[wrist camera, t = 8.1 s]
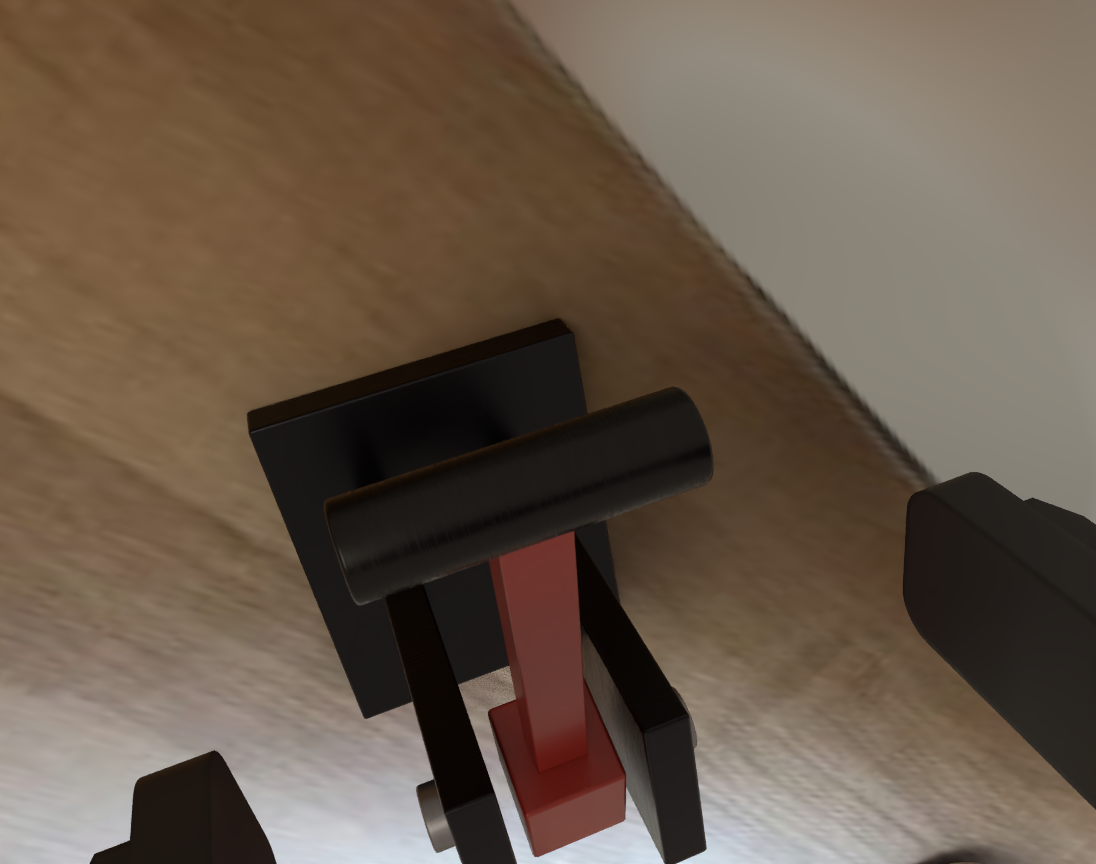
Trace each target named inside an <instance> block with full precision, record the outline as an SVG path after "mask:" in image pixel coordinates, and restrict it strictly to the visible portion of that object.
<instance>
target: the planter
mask: <svg viewBox="0 0 1096 864" xmlns="http://www.w3.org/2000/svg"><path fill="white" fill-rule="evenodd" d="M951 864H983V863H974V862H959V863H951Z"/></svg>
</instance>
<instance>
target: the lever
mask: <svg viewBox="0 0 1096 864" xmlns="http://www.w3.org/2000/svg"><path fill="white" fill-rule="evenodd" d="M712 475H713V454H712V448H711V443H710V439H709V436H708V433H707V430H706V427H705V424H704V422H703V419H702V417H701V415H700V413H699V411H698V409H697V407H696V406H695V404H694V402H693V401H692V400H691V398H690V397H689V396H688V394H687V393H686V392H685V391H684V390H682V389H681V388H678V387H669V388H666V389H663V390H660V391H657V392H654V393H651V394H647V395H644V396H641V397H638V398H635V399H632V400H629V401H626V402H623V403H620V404H617V405H614V406H611V407H608V408H604V409H601V410H598V411H595V412H592V413H589V414H586V415H583V416H580V417H577V418H574V419H571V420H568V421H565V422H561V423H558V424H555V425H552V426H549V427H546V428H543V429H540V430H537V431H534V432H531V433H528V434H525V435H522V436H518V437H515V438H512V439H509V440H506V441H503V442H500V443H497V444H494V445H491V446H488V447H485V448H482V449H478V450H475V451H472V452H469V453H466V454H463V455H460V456H457V457H454V458H451V459H448V460H445V461H442V462H439V463H435V464H432V465H429V466H426V467H423V468H420V469H417V470H414V471H411V472H408V473H405V474H402V475H399V476H396V477H392V478H389V479H386V480H383V481H380V482H377V483H374V484H371V485H368V486H365V487H362V488H359V489H356V490H353V491H349V492H346V493H343V494H340V495H337V496H334V497H331V498H328V499H326V500H325V501H324V513H325V517H326V521H327V525H328V528H329V532H330V535H331V539H332V542H333V545H334V549H335V552H336V555H337V558H338V561H339V564H340V567H341V570H342V573H343V576H344V578H345V581H346V584H347V586H348V589H349V591H350V594H351V596H352V598H353V600H354V602H355V603H356V604H357V605H364V604H367V603H370V602H373V601H375V600H378V599H381V598H384V597H387V596H390V595H393V594H395V593H398V592H401V591H404V590H407V589H410V588H413V587H415V586H418V585H421V584H424V583H427V582H430V581H433V580H435V579H438V578H441V577H444V576H447V575H450V574H453V573H455V572H458V571H461V570H464V569H467V568H470V567H473V566H475V565H478V564H481V563H484V562H487V561H489V564H490V570H491V575H492V580H493V585H494V590H495V595H496V600H497V605H498V610H499V615H500V620H501V625H502V630H503V635H504V640H505V645H506V650H507V655H508V660H509V666H510V671H511V676H512V681H513V686H514V691H515V696H516V700H513V701H511V702H508V703H505V704H503V705H500V706H498V707H495V708H492V709H490V710H489V711H488V717H489V721H490V724H491V728H492V732H493V736H494V740H495V744H496V747H497V751H498V755H499V759H500V762H501V765H502V768H503V771H504V774H505V777H506V779H507V782H508V785H509V788H510V791H511V794H512V797H513V800H514V802H515V805H516V808H517V811H518V814H519V817H520V820H521V823H522V825H523V828H524V831H525V834H526V837H527V840H528V843H529V846H530V848H531V851H532V854H533V855H534V856H535V857H539V856H542V855H544V854H546V853H549V852H551V851H554V850H556V849H558V848H561V847H563V846H566V845H568V844H570V843H573V842H575V841H578V840H580V839H582V838H585V837H587V836H589V835H592V834H594V833H597V832H599V831H601V830H604V829H606V828H609V827H611V826H613V825H616V824H618V823H621V822H623V821H624V820H625V812H626V772H625V769H624V767H623V765H622V762H621V760H620V758H619V756H618V753H617V751H616V749H615V746H614V744H613V742H612V740H611V737H610V735H609V733H608V730H607V728H606V726H605V724H604V721H603V719H602V717H601V714H600V712H599V710H598V707H597V705H596V703H595V701H594V698H593V696H592V694H591V691H590V689H589V687H588V685H587V682H586V680H585V678H584V676H583V660H582V645H581V629H580V613H579V597H578V581H577V566H576V550H575V534H574V531H575V530H578V529H581V528H584V527H587V526H590V525H592V524H595V523H598V522H601V521H604V520H607V519H610V518H612V517H615V516H618V515H621V514H624V513H627V512H630V511H632V510H635V509H638V508H641V507H644V506H647V505H650V504H652V503H655V502H658V501H661V500H664V499H667V498H670V497H672V496H675V495H678V494H681V493H684V492H687V491H690V490H692V489H695V488H698V487H701V486H704V485H706V484H707V483H708V482H709V481H710V480H711V478H712Z"/></svg>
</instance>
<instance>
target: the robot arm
mask: <svg viewBox="0 0 1096 864" xmlns="http://www.w3.org/2000/svg"><path fill="white" fill-rule="evenodd" d="M903 597H904V602H905V606H906V609H907V611H908V614H909V616H910V618H911V620H912V622H913V624H914V626H915V628H916V629H917V631H918V632H919V634H920V635H921V636H922V637H923V639H924V640H925V641H926V642H927V643H928V644H929V645H930V646H931V647H932V648H933V649H934V650H935V651H936V652H937V653H938V654H939V655H940V656H941V657H942V658H943V659H944V660H945V661H946V662H947V663H948V664H949V665H950V666H951V667H952V668H953V669H954V670H955V671H956V672H957V673H958V674H959V675H960V676H961V677H962V678H963V679H964V680H965V681H966V682H967V683H968V684H969V685H970V686H971V687H972V688H973V689H974V690H975V691H976V692H977V693H978V694H979V695H980V696H981V697H982V698H983V699H984V700H986V701H987V702H988V703H989V704H990V705H991V706H992V707H993V708H994V709H995V710H996V711H997V712H998V713H999V714H1000V715H1001V716H1002V717H1003V718H1004V719H1005V720H1006V721H1007V722H1008V723H1009V724H1010V725H1011V726H1012V727H1013V728H1014V729H1015V730H1016V731H1017V732H1018V733H1019V734H1020V735H1021V736H1022V737H1023V738H1024V739H1025V740H1026V741H1027V742H1028V743H1029V744H1030V745H1031V746H1032V747H1033V748H1034V749H1035V750H1036V751H1037V752H1038V753H1039V754H1040V755H1041V756H1042V757H1043V758H1044V759H1045V760H1046V761H1047V762H1048V763H1049V764H1050V765H1051V766H1052V767H1053V768H1054V769H1055V770H1056V771H1057V772H1058V773H1059V774H1060V775H1061V776H1062V777H1063V778H1064V779H1065V780H1066V781H1067V782H1068V783H1069V784H1070V785H1071V786H1072V787H1073V788H1074V789H1075V790H1076V791H1077V792H1078V793H1079V794H1080V795H1081V796H1082V797H1083V798H1084V799H1086V800H1087V801H1088V802H1089V803H1090V804H1091V805H1092V806H1093V807H1094V808H1095V809H1096V524H1094V523H1093V522H1091V521H1090V520H1088V519H1087V518H1085V517H1084V516H1082V515H1079V514H1076V513H1073V512H1071V511H1068V510H1065V509H1062V508H1060V507H1057V506H1054V505H1051V504H1048V503H1046V502H1043V501H1040V500H1038V499H1035V498H1031V499H1028V500H1025V501H1023V500H1021V499H1020V498H1019V497H1017V496H1016V495H1014V494H1013V493H1012V492H1010V491H1009V490H1007V489H1006V488H1004V487H1003V486H1001V485H1000V484H999V483H997V482H996V481H994V480H993V479H992V478H990V477H988V476H987V475H984V474H982V473H978V472H970V473H967V474H965V475H962V476H960V477H956V478H954V479H951V480H949V481H946V482H943V483H940V484H938V485H935V486H932V487H930V488H927V489H924V490H921V491H919V492H916V493H914V494H913V495H912V496H911V497H910V499H909V501H908V505H907V515H906V535H905V555H904V574H903ZM90 864H276V860H275V857H274V854H273V851H272V848H271V846H270V843H269V841H268V839H267V837H266V835H265V833H264V831H263V830H262V828H261V826H260V824H259V822H258V820H257V819H256V817H255V815H254V813H253V811H252V809H251V808H250V806H249V804H248V802H247V800H246V799H245V797H244V795H243V793H242V791H241V789H240V788H239V786H238V784H237V782H236V780H235V778H234V777H233V775H232V773H231V771H230V769H229V768H228V766H227V764H226V762H225V761H224V759H223V757H222V756H221V755H220V754H219V753H218V752H217V751H215V750H214V751H211V752H208V753H206V754H203V755H200V756H198V757H195V758H192V759H190V760H187V761H184V762H181V763H179V764H176V765H173V766H171V767H168V768H165V769H163V770H160V771H157V772H155V773H152V774H149V775H146V776H144V777H141V778H139V779H138V780H137V782H136V784H135V788H134V793H133V805H132V820H131V834H130V841H127V842H125V843H122V844H119V845H117V846H114V847H112V848H109V849H106V850H104V851H101V852H98V853H96V854H94V856H93V858H92V860H91V862H90Z"/></svg>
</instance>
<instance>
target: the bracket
mask: <svg viewBox="0 0 1096 864" xmlns="http://www.w3.org/2000/svg"><path fill="white" fill-rule="evenodd" d="M586 414H587V408H586V402H585V396H584V391H583V385H582V379H581V373H580V367H579V362H578V356H577V350H576V344H575V338H574V333H573V332H572V331H571V330H570V329H569V328H568V327H567V325H566V324H565V323H564V322H563V321H562V320H561V319H555V320H551V321H548V322H545V323H541V324H538V325H535V326H531V327H528V328H525V329H522V330H518V331H515V332H512V333H508V334H505V335H502V336H498V337H495V338H492V339H488V340H485V341H482V342H479V343H475V344H472V345H469V346H465V347H462V348H459V349H455V350H452V351H449V352H445V353H442V354H439V355H436V356H432V357H429V358H426V359H422V360H419V361H416V362H412V363H409V364H406V365H402V366H399V367H396V368H393V369H389V370H386V371H383V372H379V373H376V374H373V375H369V376H366V377H363V378H359V379H356V380H353V381H350V382H346V383H343V384H340V385H336V386H333V387H330V388H326V389H323V390H320V391H317V392H313V393H310V394H307V395H303V396H300V397H297V398H293V399H290V400H287V401H283V402H280V403H277V404H274V405H270V406H267V407H264V408H260V409H257V410H254V411H250V412H248V413H247V422H248V432H249V436H250V438H251V440H252V443H253V445H254V448H255V450H256V453H257V455H258V458H259V460H260V463H261V465H262V468H263V470H264V473H265V475H266V478H267V480H268V482H269V485H270V487H271V490H272V492H273V495H274V497H275V500H276V502H277V505H278V507H279V510H280V512H281V515H282V517H283V520H284V522H285V524H286V527H287V529H288V532H289V534H290V537H291V539H292V542H293V544H294V547H295V549H296V552H297V554H298V557H299V559H300V562H301V564H302V566H303V569H304V571H305V574H306V576H307V579H308V581H309V584H310V586H311V589H312V591H313V594H314V596H315V599H316V601H317V604H318V606H319V608H320V611H321V613H322V616H323V618H324V621H325V623H326V626H327V628H328V631H329V633H330V636H331V638H332V641H333V643H334V646H335V648H336V650H337V653H338V655H339V658H340V660H341V663H342V665H343V668H344V670H345V673H346V675H347V678H348V680H349V683H350V685H351V687H352V690H353V692H354V695H355V697H356V700H357V702H358V705H359V707H360V710H361V712H362V715H363V717H364V718H365V719H368V718H370V717H373V716H376V715H378V714H381V713H384V712H386V711H389V710H392V709H394V708H397V707H400V706H402V705H405V704H408V703H410V702H413V705H414V709H415V712H416V716H417V719H418V723H419V727H420V730H421V734H422V738H423V741H424V745H425V748H426V752H427V756H428V759H429V763H430V766H431V770H432V774H433V777H434V779H433V780H431V781H428V782H425V783H423V784H420V785H418V786H417V787H416V792H417V797H418V801H419V805H420V809H421V812H422V816H423V819H424V822H425V826H426V829H427V832H428V835H429V838H430V841H431V843H432V846H433V848H434V850H435V851H436V853H439V852H442V851H444V850H447V849H449V848H452V847H454V846H456V849H457V852H458V854H459V857H460V860H461V863H462V864H517V862H516V859H515V855H514V852H513V849H512V846H511V843H510V840H509V836H508V833H507V830H506V827H505V824H504V820H503V817H502V814H501V811H500V808H499V804H498V801H497V798H496V795H495V792H494V789H493V786H492V783H491V780H490V777H489V774H488V771H487V769H486V766H485V763H484V760H483V757H482V754H481V751H480V748H479V745H478V742H477V739H476V736H475V733H474V731H473V728H472V725H471V722H470V719H469V716H468V713H467V710H466V707H465V704H464V701H463V698H462V696H461V693H460V690H459V687H458V684H461V683H464V682H466V681H469V680H472V679H474V678H477V677H480V676H482V675H485V674H488V673H491V672H493V671H496V670H499V669H501V668H504V667H507V666H509V660H508V655H507V650H506V645H505V640H504V635H503V630H502V625H501V620H500V615H499V610H498V605H497V600H496V595H495V590H494V585H493V580H492V575H491V570H490V564H489V561H487V562H484V563H481V564H478V565H475V566H473V567H470V568H467V569H464V570H461V571H458V572H455V573H453V574H450V575H447V576H444V577H441V578H438V579H435V580H433V581H430V582H427V583H424V584H421V585H418V586H415V587H413V588H410V589H407V590H404V591H401V592H398V593H395V594H393V595H390V596H387V597H384V598H381V599H378V600H375V601H373V602H370V603H367V604H364V605H357V604H356V603H355V602H354V600H353V598H352V596H351V594H350V591H349V589H348V586H347V584H346V581H345V578H344V576H343V573H342V570H341V567H340V564H339V561H338V558H337V555H336V552H335V549H334V545H333V542H332V539H331V535H330V532H329V528H328V525H327V521H326V517H325V513H324V501H325V500H326V499H328V498H331V497H334V496H337V495H340V494H343V493H346V492H349V491H353V490H356V489H359V488H362V487H365V486H368V485H371V484H374V483H377V482H380V481H383V480H386V479H389V478H392V477H396V476H399V475H402V474H405V473H408V472H411V471H414V470H417V469H420V468H423V467H426V466H429V465H432V464H435V463H439V462H442V461H445V460H448V459H451V458H454V457H457V456H460V455H463V454H466V453H469V452H472V451H475V450H478V449H482V448H485V447H488V446H491V445H494V444H497V443H500V442H503V441H506V440H509V439H512V438H515V437H518V436H522V435H525V434H528V433H531V432H534V431H537V430H540V429H543V428H546V427H549V426H552V425H555V424H558V423H561V422H565V421H568V420H571V419H574V418H577V417H580V416H583V415H586ZM574 534H575V550H576V566H577V581H578V597H579V613H580V629H581V645H582V660H583V676H584V678H585V680H586V682H587V685H588V687H589V689H590V691H591V694H592V696H593V698H594V701H595V703H596V705H597V707H598V710H599V712H600V714H601V717H602V719H603V721H604V724H605V726H606V728H607V730H608V733H609V735H610V737H611V740H612V742H613V744H614V746H615V749H616V751H617V753H618V756H619V758H620V760H621V762H622V765H623V767H624V769H625V772H626V787H627V789H628V791H629V793H630V795H631V797H632V799H633V801H634V803H635V805H636V807H637V809H638V811H639V813H640V815H641V817H642V819H643V821H644V823H645V825H646V827H647V829H648V831H649V833H650V835H651V837H652V839H653V841H654V843H655V845H656V847H657V849H658V851H659V853H660V855H661V857H662V859H663V861H664V863H665V864H676V863H679V862H681V861H683V860H686V859H688V858H690V857H692V856H695V855H697V854H699V853H702V852H704V851H705V850H706V849H707V848H706V840H705V832H704V824H703V817H702V809H701V801H700V793H699V786H698V778H697V770H696V763H695V755H694V748H695V747H696V746H697V736H696V731H695V727H694V724H693V721H692V718H691V716H690V713H689V711H688V708H687V706H686V704H685V702H684V701H683V699H682V697H681V696H680V694H679V693H678V691H677V690H676V689H675V688H674V687H671V685H670V683H669V682H668V680H667V679H666V677H665V675H664V674H663V672H662V671H661V669H660V667H659V666H658V664H657V662H656V661H655V659H654V658H653V656H652V654H651V653H650V651H649V650H648V648H647V646H646V645H645V643H644V642H643V640H642V638H641V637H640V635H639V634H638V632H637V630H636V629H635V627H634V626H633V624H632V622H631V621H630V619H629V618H628V616H627V614H626V613H625V611H624V609H623V608H622V606H621V605H620V600H619V594H618V589H617V583H616V577H615V571H614V565H613V559H612V554H611V548H610V542H609V536H608V530H607V524H606V520H604V521H601V522H598V523H595V524H592V525H590V526H587V527H584V528H581V529H578V530H575V531H574Z"/></svg>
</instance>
